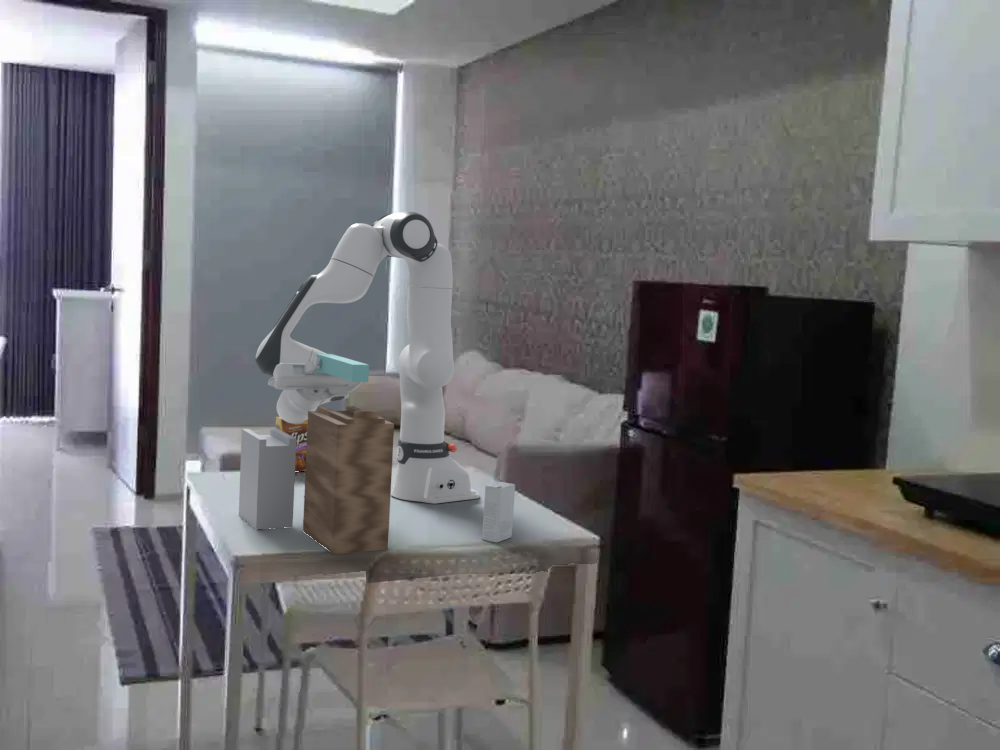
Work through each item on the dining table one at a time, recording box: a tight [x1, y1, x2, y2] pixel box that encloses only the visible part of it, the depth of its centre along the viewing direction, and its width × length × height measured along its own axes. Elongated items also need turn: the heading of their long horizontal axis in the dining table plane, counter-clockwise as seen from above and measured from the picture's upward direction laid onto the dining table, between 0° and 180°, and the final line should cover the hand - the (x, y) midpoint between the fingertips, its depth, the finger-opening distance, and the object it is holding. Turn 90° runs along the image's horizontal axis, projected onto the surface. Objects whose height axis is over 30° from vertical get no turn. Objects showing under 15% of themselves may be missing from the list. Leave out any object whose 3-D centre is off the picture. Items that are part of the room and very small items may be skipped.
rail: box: [316, 353, 370, 383], centre depth 218 cm, size 4×22×4 cm, turn 29°
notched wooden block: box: [302, 405, 395, 555], centre depth 214 cm, size 12×18×28 cm, turn 29°
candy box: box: [275, 415, 308, 471], centre depth 282 cm, size 9×4×15 cm, turn 123°
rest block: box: [238, 427, 296, 530], centre depth 226 cm, size 8×14×20 cm, turn 29°
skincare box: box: [481, 481, 516, 543], centre depth 224 cm, size 6×4×12 cm
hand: (329, 361), depth 224 cm, fingers closed on rail, 3 cm apart
